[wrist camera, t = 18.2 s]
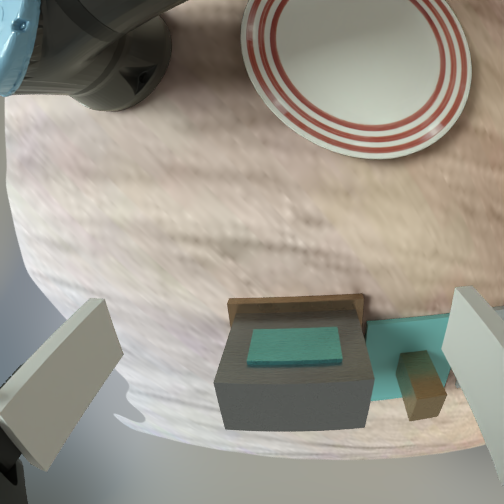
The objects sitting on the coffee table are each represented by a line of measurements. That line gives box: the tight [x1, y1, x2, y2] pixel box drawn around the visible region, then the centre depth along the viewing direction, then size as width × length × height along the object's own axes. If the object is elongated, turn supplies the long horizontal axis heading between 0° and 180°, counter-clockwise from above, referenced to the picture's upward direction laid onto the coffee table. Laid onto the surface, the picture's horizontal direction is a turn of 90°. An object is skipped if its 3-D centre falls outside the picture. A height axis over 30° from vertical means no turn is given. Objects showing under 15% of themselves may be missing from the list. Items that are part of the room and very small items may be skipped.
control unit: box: [214, 293, 375, 431], centre depth 38 cm, size 18×11×15 cm, turn 96°
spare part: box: [395, 350, 447, 421], centre depth 39 cm, size 4×4×10 cm
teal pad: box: [365, 313, 451, 401], centre depth 44 cm, size 16×16×1 cm
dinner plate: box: [241, 0, 472, 159], centre depth 29 cm, size 27×27×3 cm
